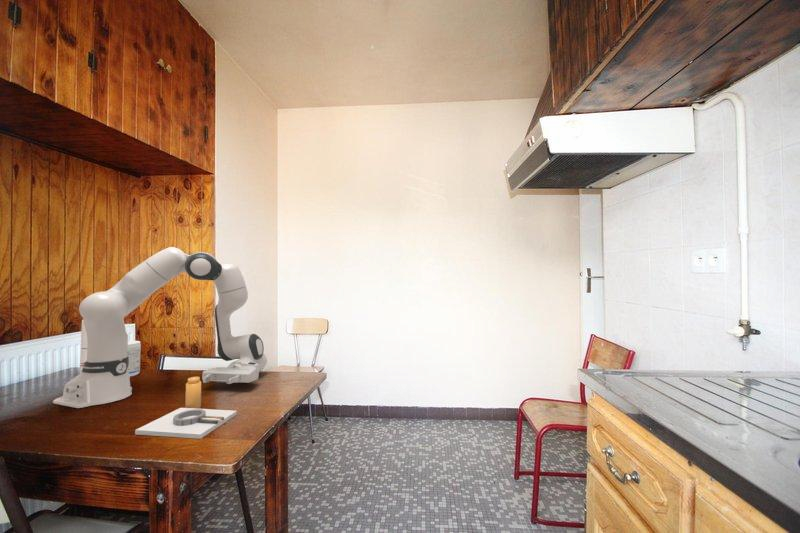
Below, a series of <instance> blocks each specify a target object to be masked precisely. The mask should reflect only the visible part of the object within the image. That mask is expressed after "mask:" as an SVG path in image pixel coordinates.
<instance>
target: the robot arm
mask: <svg viewBox="0 0 800 533" xmlns="http://www.w3.org/2000/svg"><path fill="white" fill-rule="evenodd" d="M184 273H186V274H187V275H188V276H189V277H191V278H192V279H194V280H198V281H212V282H213V284H215V288H216V292H217V294H218V300H217V304H216V306H215V307H214V319H215V328H216V338H217V349H216V350H217V354H218V356H219V358H220V359H222V360H223V361H225V362H229V361H232V362H230V363H229V365H228V367H223V366H222V367H219V366H218V367H212V368H209V369H206V370H203V371H202V375H201V379H202V383H203V384H204V383H205V384H208V383H210V382H224V383H226V385H227V384H228V385H230V384H233V383H247V384H248V383H251V382H254V381H257V380H259V374H260V372H262V371H263V370H264V369H265V367H266V365H267V363H268V359H267V356H266V354H264V351H265V350H264V349H265V348H264V343H263V340H262V339H261V337H260V336H259V335H257V334H256V333H250V334H244V335H238V336H233V335H232V331H231V329H232V328H231V320H230V319H231V316H232V314H234V313H235V311H238V310H239V309H241V308H242V307H243V306H244V305H245V304H246V303H247V301H248V299H249V295H248V294H249V292H248V288H247V285H246V281H245V280H244V276H243V274H242V271H241V270H240V268H239V266H238V265H236V264H235V263H229V262H228V263H220V262H218V260H217V259H216V257H215V256H214V255H213V254H211V253H210V252H207V251H198V252H197V251H196V252H193V253H186V252H184V250H181V249H180V248H178V247H175V246H168V247H167V248H166V247H165V248H164V249H162V250H160V251H158V252H156V253H154V254H152V255H151V256H149V257H148V258H147V259H145V260H144V261H142V262H141V263H139V264H138V265H136V266H135V267H134V268H132V269H131V270H129V271H128V272H127V273H126V274H124V276H123V277H122V278H121V279H119V281H118V282H117V283H115V285H113V286H112V287H111V288H109V289H108V290H106V291H105V290H103V291H97V292H94V293H91V294H90V295H88V296H86V297H85V298H84V299H82V301H81V302H80V304H79V307H78V308H79V309H78V313H79V315H80V316H81V317H82V320H84V325H85V330H86V334H87V361H86V362H84V363H80V362H79V368H80V367H81V366H83V369H82V372H81V373H80V372H79V374H78V375H75V376H74V378H72V379H70V380H69V381H68V382H66V384H65V385H64V387H63V390H62V391H63V392H62V393H63V394H62V396H60V397H57V398H55V399H54V400H53V401H52V404H55V405H60V406H63V407H64V406H65V407H70V408H76V409H81V408H86V407H91V406H97V405H105V404H110V403H113V402H116V401H117V402H118V401H121V400H124V399H126V398H128V397H130V396H131V395H133V394H132V393H133V392H132V391H133V387H132V386H131V381H130V379H131V377H129V370H128V369H127V368H128V366H129V357H128V356H127V351H128V341H129V335H128V333H127V330H126V325H125V319H124V318H125V317H127V316H128V315H130V314H131V312H134V310H136V308H138V307H139V306H140V305H142V304H143V303H144V302H145V301H146V300H147V299H148V298H149V297H151V296H152V295H153V294H154V293H155V292H157V291H158V290H159V289H161V288H162V287H164V286H165V285H166V284H168V283H169V282H170V281H171V280H172V279H174V278H175V277H177V276H178V275H180V274H184ZM80 364H84V365H81V366H80Z"/></svg>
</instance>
